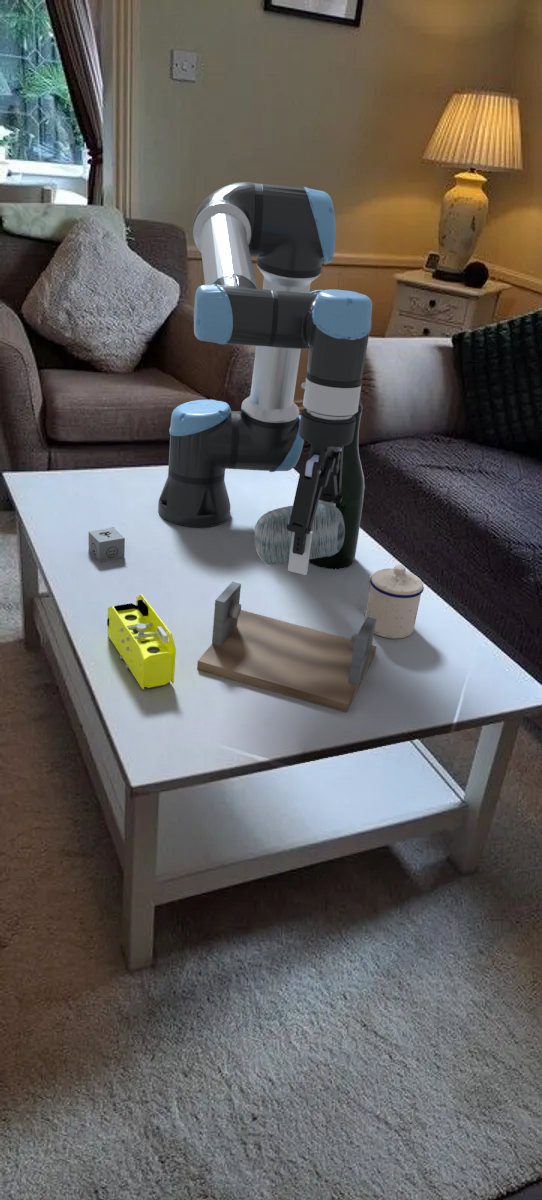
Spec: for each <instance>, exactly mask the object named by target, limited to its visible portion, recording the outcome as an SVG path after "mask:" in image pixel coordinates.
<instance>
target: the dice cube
mask: <svg viewBox="0 0 542 1200" xmlns="http://www.w3.org/2000/svg"><path fill="white" fill-rule="evenodd" d="M125 539H126V538H125V537H124V536H123V534H121V533H120V532H119V531H118V530H117V529H116V528H114V527H108V528H103V529H102V528H101V529H97V530H96V529H95V530H90V531H88V551H89V553H91V554H92V556H93V557H94V558H95V559H96V560H97V561H98V562H100V563H101V562H106V561H112V560H117V559H124V558H125V546H126V545H125V542H126V541H125Z"/></svg>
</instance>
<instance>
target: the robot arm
mask: <svg viewBox="0 0 542 1200" xmlns="http://www.w3.org/2000/svg"><path fill="white" fill-rule="evenodd" d="M334 209H335V207H334V204H333V200H332V198H331V196H330V195H329V193H327V191H323V190H319V189H318V190H317V189H313V188H309V187H307V186H291V185H283V184H282V185H281V184H279V185H278V184H277V185H276V184H267V183H257V182H256V183H255V182H252V181H251V182H249V181H241V182H233V183H230V184H226V185H224V186H222V187H220V188H219V189H217V190H215V191H214V192H212V193H210V194H209V195H207V197H206V198H205V199H204V200H203V201H202V202H201V203H200V205H199V206H198V208H197V210H196V212H195V214H194V218H193V221H192V236H193V237H192V238H193V241H194V244H195V247H196V248H197V250H198V251H199V253H200V254H201V260H202V270H203V278H204V284H202V285H199V286H198V287H197V289H196V290H195V295H194V305H193V307H194V308H193V334H194V336H195V337H196V339H197V340H198V341H203V342H208V343H209V342H210V343H215V344H218V345H238V346H241V345H242V346H254V347H255V353H254V361H253V370H252V377H251V378H252V380H251V389H250V395H249V396H248V397H245V399H244V400H243V401H242V403H241V409H240V411H238V410H237V411H235V410H232V409H231V407H230V405H229V403H228V402H226V401H223V400H216V399H196V400H191V401H187V402H184V403H182V404H179V405H178V406H177V407H174V409H173V411H172V413H171V415H170V416H171V418H170V427H169V430H168V431H169V433H168V434H170V439H169V453H168V455H169V456H168V470H167V471H168V473H167V478H166V480H165V483H164V486H163V487H162V491H161V494H160V496H159V497H158V498H159V499H158V502H157V503H158V505H157V506H158V507H157V508H158V510H157V512H158V515H160V517H161V518H163V519H164V520H165V521H167V522H170V523H171V524H172V523H173V524H175V525H179V526H182V527H183V526H184V527H189V528H190V527H193V528H209V527H214V526H218V525H221V524H224V523H225V522H227V521H228V520H229V519H230V517H231V502H230V497H229V493H228V490H227V489H228V488H227V486H226V483H225V473H226V469H227V470H228V469H229V470H245V471H262V472H263V471H264V472H269V473H275V472H289V471H291V470H292V469H293V468H295V467H296V465H298V464H297V463H298V462H299V459H300V457H301V453H302V451H303V447H304V443H305V442H308V444H310V449H309V451H308V452H306V455H305V458H302V459H301V461H300V464H299V465H300V468H299V475H298V481H297V485H296V489H295V495H294V499H293V503H292V504H293V505H292V506H293V508H292V513H291V517H290V522H289V524H287V529H288V531H291V532H292V539H291V548H290V556H289V563H287V571H289V572H291V573H292V572H293V573H295V574H300V575H305V576H306V575H307V574H308V567H309V564H310V563H309V556H310V548H311V541H312V534H313V531H311V527H312V524H313V520H314V516H315V513H316V509H317V506H318V504H331V505H334V506H336V504H335V503H333V501H334V502H338V503H341V501H342V496H340V495H338V494H340V492H341V490H342V489H341V484H342V466H343V450H344V446H346V445H349V444H350V443H351V442H352V441H353V436H354V430H355V423H356V418H355V416H354V414H356V413H357V412H358V406H359V399H360V398H361V392H362V381H363V374H364V369H365V361H366V355H367V349H368V344H369V343H368V342H369V337H370V332H371V329H372V325H373V323H372V312H373V302H372V299H371V298H370V297H369V296H368V295H366V294H364V293H363V294H362V293H359V292H357V291H353V290H352V291H351V290H345V289H325V290H324V289H315V290H312V291H311V290H310V289H311V284H312V282H314V281H315V280H316V279H317V278H319V277H320V276H321V272H322V266H323V265H328V264H330V263H332V262H333V258H334V255H335V249H336V215H335V210H334ZM253 257H254V258H257V259H256V267H257V269H258V270H259V272H260V273H261V274H262V276H263V283H262V288H258V283H257V280H256V275H255V269H254V265H253V261H252V258H253ZM301 350H305V351H306V350H307V351H308V357H307V368H306V374H305V381H302V383H301V384H300V388H301V389H303V390H304V393H303V398H302V399H303V400H302V401H303V402H302V406H303V410H302V411H301V412H300V408H299V406H298V405H297V404H296V403H295V402H294V399H295V392H296V384H297V380H298V379H297V378H298V373H299V372H298V371H299V363H300V358H301ZM300 413H301V414H300ZM319 498H321V499H323V501H322V500H319Z"/></svg>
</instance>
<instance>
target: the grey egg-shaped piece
mask: <svg viewBox="0 0 542 1200" xmlns="http://www.w3.org/2000/svg"><path fill="white" fill-rule="evenodd" d="M292 508H293V505H289V506H283V507H279V508H276V509H273V510H270V511H267V512H266V513H264V514H263V515H261V516H260V517H259V519H257V521H256V523H255V525H254V545H255V550H256V554H257V555H258V556H259V558H260V560H261V561H262V562H263V563H265V564H267V565H270V566H273V565H274V566H275V565H285V564H289V556H290V548H291V539H292V532H291V531H288V529H287V524H289V522H290V517H291V513H292ZM311 531H313V534H312V541H311V548H310V556H309V559H315V558H321V557H325V556H328V557H329V556H332V555H334V554H336V553H338V552H339V550H340V549H341V547H342V545H343V542H344V536H345V526H344V520H343V516H342V513H341V512H340V510H339V509H338V508H337V507H335V506H334V505H331V504H318V506H317V509H316V513H315V516H314V520H313V524H312V527H311Z"/></svg>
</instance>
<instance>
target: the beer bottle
mask: <svg viewBox="0 0 542 1200" xmlns="http://www.w3.org/2000/svg"><path fill="white" fill-rule="evenodd" d="M361 402H362V398H361V397H360V399H359V406H358V412H357V413H356V414H354V416H355V418H356V423H355V430H354V436H353V441H352V442H351V443H350V444H349V445H346V446H344V450H343V466H342V484H341V489H342V490H341V492H340V494H338V495H340V496H342V501H341V503H338V502H334V501H333V503H335V504H336V506H335V507H337V508H338V509H339V510H340V512H341V513H342V516H343V520H344V526H345V536H344V542H343V545H342V547H341V549H340V550H339V552H338V553H336V554H334V555H332V556H329V557H328V556H325V557H321V558H315V559H309V563H308V564H311V565H313V566H315V567H317V568H318V567H319V568H321V569H328V570H342V569H347V568H349V567H351V566H352V565H353V564H354V562H355V558H356V555H357V554H356V552H357V547H358V540H359V533H360V528H361V519H362V512H363V507H364V506H363V504H364V499H365V498H364V496H365V495H364V494H365V476H364V472H363V471H364V470H363V468H362V461H361V459H360V457H361V456H360V452H359V451H360V450H359V434H360V432H359V431H360V424H361V417H362V413H363V404H362V403H361ZM319 500H322V501H323V499H321V498H319Z"/></svg>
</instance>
